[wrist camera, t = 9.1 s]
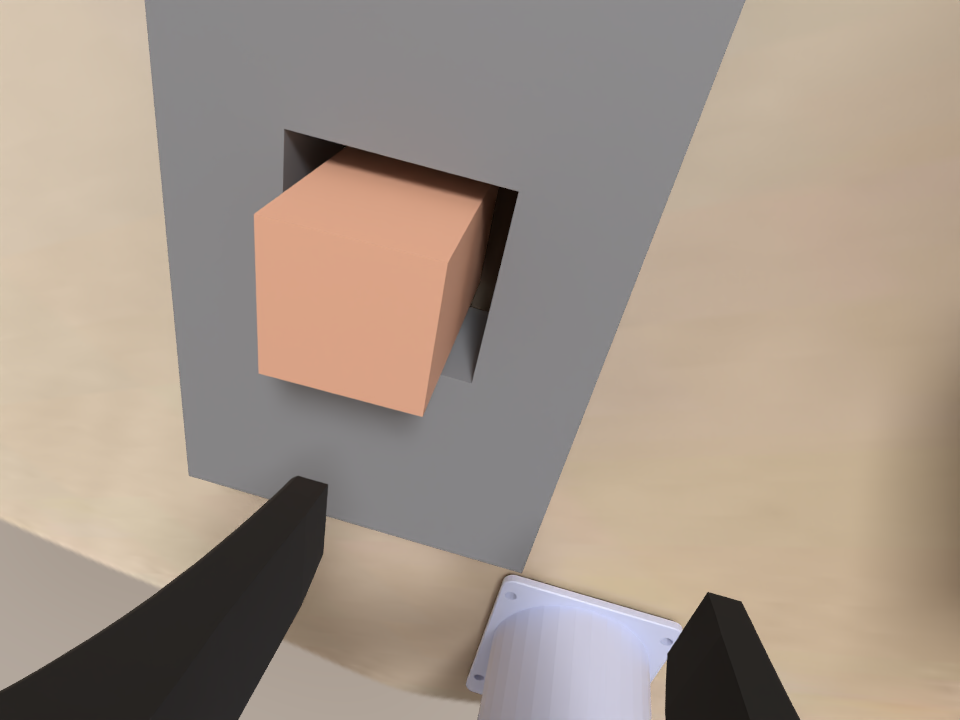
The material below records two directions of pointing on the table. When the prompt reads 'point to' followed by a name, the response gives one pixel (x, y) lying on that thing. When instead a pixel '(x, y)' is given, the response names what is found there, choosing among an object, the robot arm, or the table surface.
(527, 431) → the socket board
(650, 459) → the table surface
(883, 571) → the table surface
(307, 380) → the peg
